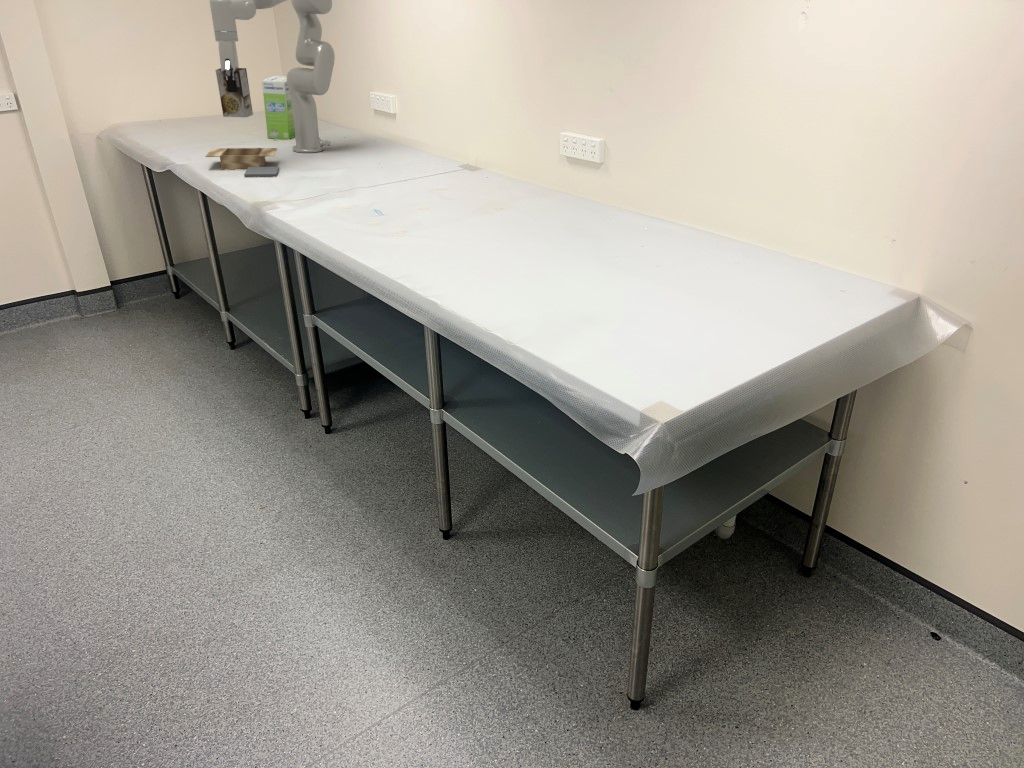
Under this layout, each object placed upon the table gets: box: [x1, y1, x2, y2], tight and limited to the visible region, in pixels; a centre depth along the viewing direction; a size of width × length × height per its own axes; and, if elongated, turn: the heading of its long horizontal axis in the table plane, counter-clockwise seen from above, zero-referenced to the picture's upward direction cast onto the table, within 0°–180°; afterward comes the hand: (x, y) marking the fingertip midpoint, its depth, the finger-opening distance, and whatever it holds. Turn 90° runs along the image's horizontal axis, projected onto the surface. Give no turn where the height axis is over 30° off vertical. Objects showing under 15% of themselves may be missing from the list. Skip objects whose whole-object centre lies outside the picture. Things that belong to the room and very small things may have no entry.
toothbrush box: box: [261, 75, 295, 140], centre depth 329 cm, size 18×10×24 cm, turn 178°
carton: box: [205, 147, 278, 170], centre depth 280 cm, size 24×14×5 cm, turn 100°
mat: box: [243, 166, 280, 178], centre depth 271 cm, size 11×12×1 cm
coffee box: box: [215, 67, 254, 118], centre depth 269 cm, size 9×6×16 cm
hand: (234, 90), depth 269 cm, fingers closed on coffee box, 7 cm apart
